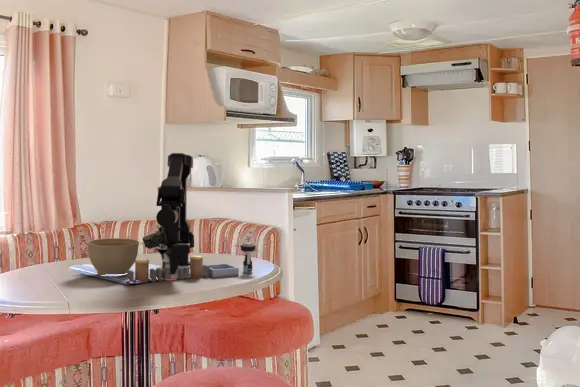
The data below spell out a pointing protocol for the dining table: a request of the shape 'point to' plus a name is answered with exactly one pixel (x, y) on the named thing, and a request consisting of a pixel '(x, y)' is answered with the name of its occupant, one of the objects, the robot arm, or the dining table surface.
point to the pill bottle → (167, 270)
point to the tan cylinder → (196, 266)
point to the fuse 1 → (142, 270)
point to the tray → (223, 270)
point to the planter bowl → (112, 255)
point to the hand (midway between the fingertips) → (169, 272)
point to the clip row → (180, 273)
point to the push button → (247, 256)
